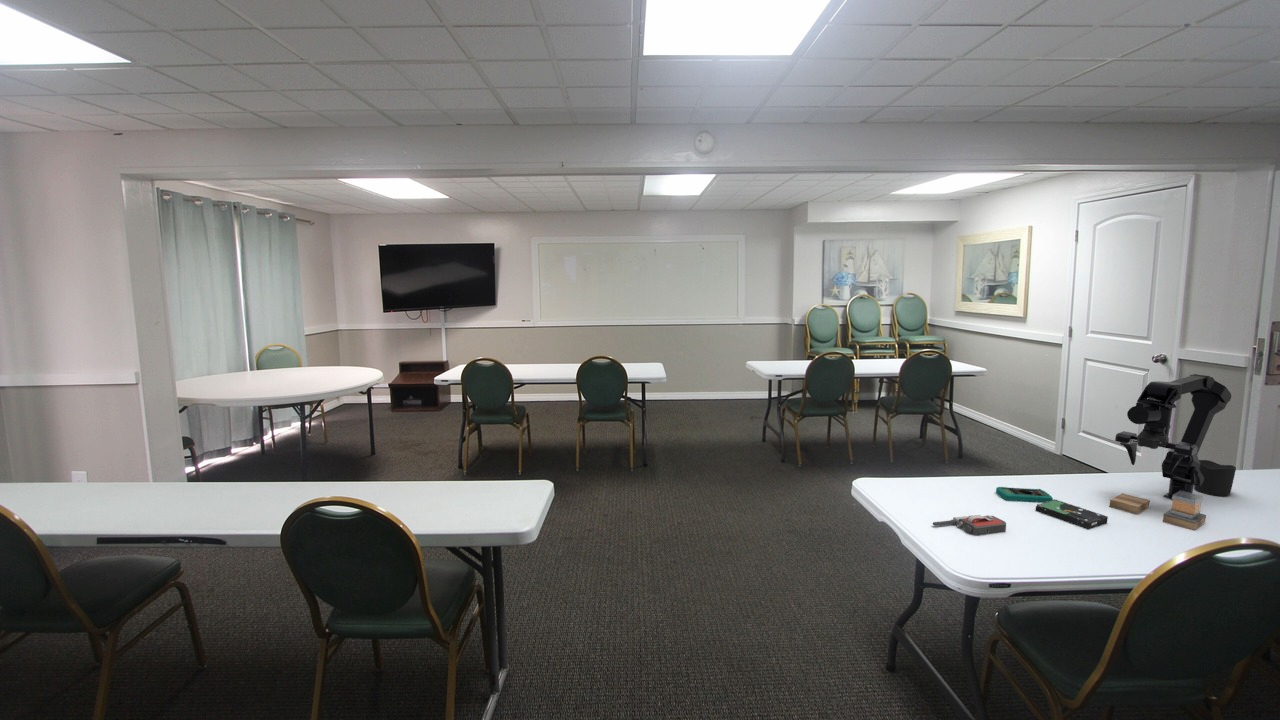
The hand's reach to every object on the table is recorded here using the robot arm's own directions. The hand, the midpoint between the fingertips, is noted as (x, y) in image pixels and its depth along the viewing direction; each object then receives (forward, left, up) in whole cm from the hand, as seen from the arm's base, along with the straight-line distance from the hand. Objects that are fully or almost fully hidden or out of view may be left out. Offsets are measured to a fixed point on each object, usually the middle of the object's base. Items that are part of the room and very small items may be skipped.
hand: (1151, 468), depth 179 cm
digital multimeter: (+28, -24, -13) cm, 39 cm away
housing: (+8, +11, -10) cm, 17 cm away
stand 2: (+8, +11, -12) cm, 18 cm away
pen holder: (-33, +8, -12) cm, 36 cm away
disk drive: (+33, -9, -13) cm, 36 cm away
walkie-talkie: (+67, -21, -13) cm, 72 cm away
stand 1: (+8, -2, -12) cm, 15 cm away
